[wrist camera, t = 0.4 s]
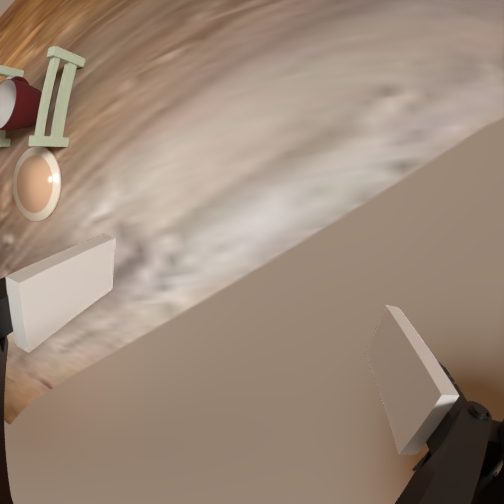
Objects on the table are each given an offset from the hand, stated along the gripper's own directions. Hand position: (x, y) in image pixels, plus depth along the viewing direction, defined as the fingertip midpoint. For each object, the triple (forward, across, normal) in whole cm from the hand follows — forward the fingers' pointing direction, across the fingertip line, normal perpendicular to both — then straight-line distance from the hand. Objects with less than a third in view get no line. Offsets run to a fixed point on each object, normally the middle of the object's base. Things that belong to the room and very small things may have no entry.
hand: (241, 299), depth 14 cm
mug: (+28, -43, +11) cm, 52 cm away
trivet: (+27, -40, -3) cm, 49 cm away
